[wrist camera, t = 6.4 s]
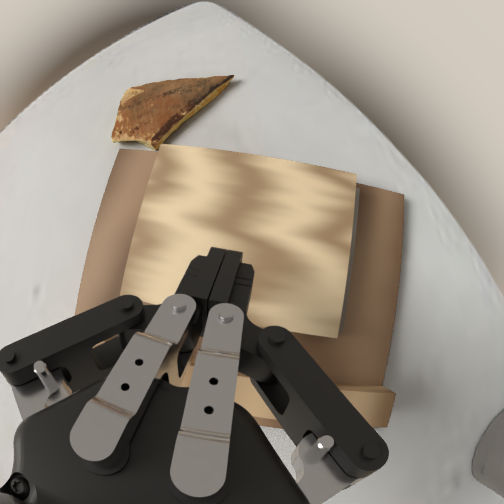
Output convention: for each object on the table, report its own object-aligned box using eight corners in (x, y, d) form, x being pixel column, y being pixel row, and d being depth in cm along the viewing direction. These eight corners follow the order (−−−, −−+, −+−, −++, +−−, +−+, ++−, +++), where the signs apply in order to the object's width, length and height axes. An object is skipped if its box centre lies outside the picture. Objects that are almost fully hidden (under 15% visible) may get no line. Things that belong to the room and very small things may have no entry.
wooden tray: (399, 198, 24) (417, 182, 20) (365, 430, 20) (381, 446, 17) (123, 154, 25) (108, 134, 21) (74, 369, 21) (50, 374, 18)
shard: (235, 84, 27) (234, 72, 25) (233, 150, 25) (232, 138, 23) (129, 95, 27) (123, 84, 25) (115, 158, 25) (107, 149, 24)
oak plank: (328, 335, 21) (347, 187, 23) (337, 338, 18) (356, 174, 20) (133, 297, 21) (169, 159, 23) (119, 295, 19) (160, 143, 21)
